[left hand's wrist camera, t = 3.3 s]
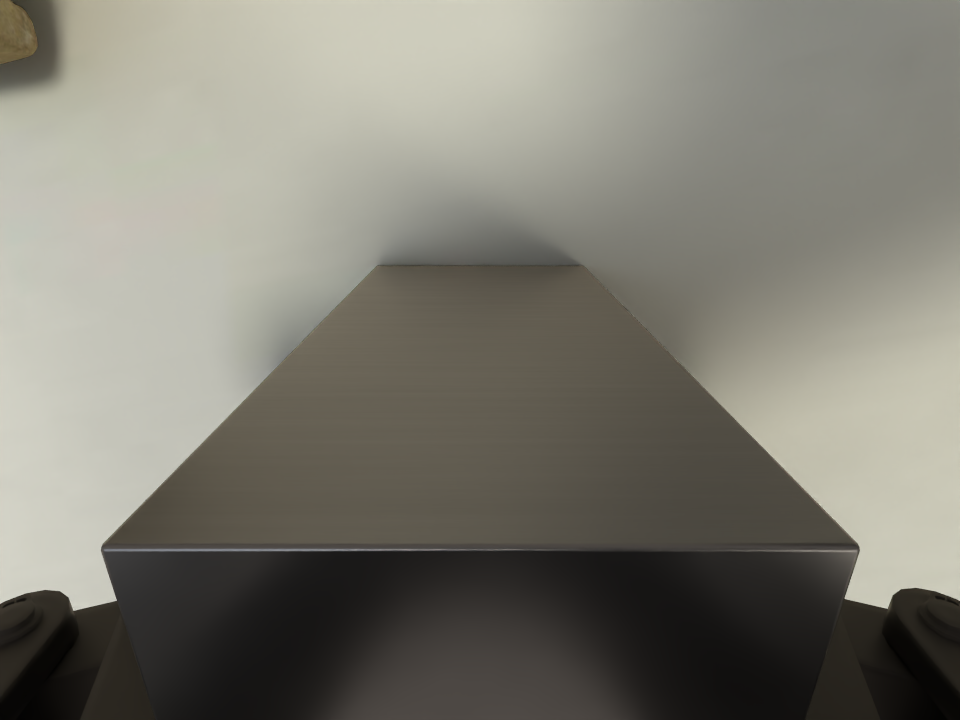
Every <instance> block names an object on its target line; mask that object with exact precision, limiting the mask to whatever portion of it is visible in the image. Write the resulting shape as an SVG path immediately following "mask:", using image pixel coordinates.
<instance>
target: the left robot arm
mask: <svg viewBox="0 0 960 720" xmlns="http://www.w3.org/2000/svg"><path fill="white" fill-rule="evenodd" d="M0 720H156V719H155V716H154V713H153V710H152V707H151V704H150V701H149V698H148V695H147V692H146V688H145V685H144V682H143V679H142V676H141V673H140V670H139V667H138V664H137V661H136V657H135V654H134V651H133V648H132V645H131V642H130V639H129V636H128V633H127V630H126V626H125V623H124V620H123V617H122V614H121V611H120V608H119V605H118V602H117V601H115V602H110V603H106V604H102V605H97V606H93V607H89V608H85V609H80V610H76V611H73V609H72V606H71V603H70V601H69V598H68V597H67V596H66V595H64V594H63V593H61V592H60V591H50V590H43V591H37V592H32V593H26V594H24V595H21V596H18V597H16V598H13V599H10V600H8V601H5V602H3V603H1V604H0ZM805 720H960V601H958V600H957V599H954V598H951V597H949V596H946V595H944V594H941V593H938V592H935V591H930V590H924V589H919V588H911V589H901V590H900V591H898V592H897V593H896V594H894V595H893V596H892V599H891V602H890V605H889V607H888V609H885V608H881V607H876V606H872V605H868V604H863V603H859V602H855V601H850V600H846V599H844V601H843V604H842V607H841V610H840V613H839V616H838V619H837V622H836V626H835V629H834V632H833V635H832V638H831V641H830V644H829V647H828V650H827V653H826V656H825V660H824V663H823V666H822V669H821V672H820V675H819V678H818V681H817V684H816V687H815V690H814V694H813V697H812V700H811V703H810V706H809V709H808V712H807V715H806V718H805Z"/></svg>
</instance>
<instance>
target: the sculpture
mask: <svg viewBox="0 0 960 720" xmlns="http://www.w3.org/2000/svg"><path fill="white" fill-rule="evenodd" d="M37 47H38V42H37V36H36V33H35V29H34V26H33V23H32V21H31V19H30V17H29V15H28V14H27V12H26V11H25V10H24V9H23V8H22V7H20V6H18V5H16V4H14V3H12V1H11V0H0V64H4V63H8V62H11V61H15V60H18V59H22V58H25V57H29V56H31V55H32V54H33V53H34V52H35V51H36V49H37Z"/></svg>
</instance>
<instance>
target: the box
mask: <svg viewBox="0 0 960 720" xmlns="http://www.w3.org/2000/svg"><path fill="white" fill-rule="evenodd" d="M859 551H860V549H859V546H858V544H857V543H856V542H855V541H854V540H853V539H852V538H851V537H850V536H849V535H848V534H847V533H846V532H845V531H844V530H843V529H842V527H841V526H840V525H839V524H838V523H837V522H836V521H835V520H834V519H833V518H832V517H831V516H830V515H829V514H828V513H827V512H826V511H825V510H824V509H823V508H822V507H821V506H820V505H819V504H818V503H817V502H816V501H815V500H814V499H813V498H812V497H811V496H810V495H809V494H808V493H807V492H806V491H805V490H804V489H803V488H802V487H801V486H800V485H799V484H798V483H797V482H796V481H795V480H794V479H793V478H792V477H791V476H790V475H789V474H788V473H787V472H786V471H785V470H784V469H783V468H782V467H781V466H780V465H779V464H778V463H777V462H776V461H775V460H774V459H773V458H772V457H771V456H770V455H769V454H768V452H767V451H766V450H765V449H764V448H763V447H762V446H761V445H760V444H759V443H758V442H757V441H756V440H755V439H754V438H753V437H752V436H751V435H750V434H749V433H748V432H747V431H746V430H745V429H744V428H743V427H742V426H741V425H740V424H739V423H738V422H737V421H736V420H735V419H734V418H733V417H732V416H731V415H730V414H729V413H728V412H727V411H726V410H725V409H724V408H723V407H722V406H721V405H720V404H719V403H718V402H717V401H716V400H715V399H714V398H713V397H712V396H711V395H710V394H709V393H708V392H707V391H706V390H705V389H704V388H703V387H702V386H701V385H700V384H699V383H698V382H697V381H696V380H695V379H694V377H693V376H692V375H691V374H690V373H689V372H688V371H687V370H686V369H685V368H684V367H683V366H682V365H681V364H680V363H679V362H678V361H677V360H676V359H675V358H674V357H673V356H672V355H671V354H670V353H669V352H668V351H667V350H666V349H665V348H664V347H663V346H662V345H661V344H660V343H659V342H658V341H657V340H656V339H655V338H654V337H653V336H652V335H651V334H650V333H649V332H648V331H647V330H646V329H645V328H644V327H643V326H642V325H641V324H640V323H639V322H638V321H637V320H636V319H635V318H634V317H633V316H632V315H631V314H630V313H629V312H628V311H627V310H626V309H625V308H624V307H623V306H622V305H621V304H620V302H619V301H618V300H617V299H616V298H615V297H614V296H613V295H612V294H611V293H610V292H609V291H608V290H607V289H606V288H605V287H604V286H603V285H602V284H601V283H600V282H599V281H598V280H597V279H596V278H595V277H594V276H593V275H592V274H591V273H590V272H589V271H588V270H587V269H586V268H585V267H584V266H376V267H375V268H374V269H373V270H372V271H371V272H370V273H369V274H368V275H367V276H366V277H365V278H364V279H363V280H362V281H361V283H360V284H359V285H358V286H357V287H356V288H355V289H354V290H353V291H352V292H351V293H350V294H349V295H348V296H347V297H346V298H345V299H344V300H343V301H342V302H341V303H340V304H339V305H338V306H337V307H336V308H335V309H334V310H333V311H332V312H331V313H330V314H329V315H328V316H327V317H326V318H325V319H324V320H323V321H322V322H321V323H320V324H319V325H318V326H317V327H316V328H315V329H314V330H313V331H312V332H311V333H310V334H309V335H308V336H307V337H306V338H305V339H304V340H303V341H302V342H301V343H300V344H299V345H298V346H297V347H296V348H295V349H294V351H293V352H292V353H291V354H290V355H289V356H288V357H287V358H286V359H285V360H284V361H283V362H282V363H281V364H280V365H279V366H278V367H277V368H276V369H275V370H274V371H273V372H272V373H271V374H270V375H269V376H268V377H267V378H266V379H265V380H264V381H263V382H262V383H261V384H260V385H259V386H258V387H257V388H256V389H255V390H254V391H253V392H252V393H251V394H250V395H249V396H248V397H247V398H246V399H245V400H244V401H243V402H242V403H241V404H240V405H239V406H238V407H237V408H236V409H235V410H234V411H233V412H232V413H231V414H230V415H229V416H228V418H227V419H226V420H225V421H224V422H223V423H222V424H221V425H220V426H219V427H218V428H217V429H216V430H215V431H214V432H213V433H212V434H211V435H210V436H209V437H208V438H207V439H206V440H205V441H204V442H203V443H202V444H201V445H200V446H199V447H198V448H197V449H196V450H195V451H194V452H193V453H192V454H191V455H190V456H189V457H188V458H187V459H186V460H185V461H184V462H183V463H182V464H181V465H180V466H179V467H178V468H177V469H176V470H175V471H174V472H173V473H172V474H171V475H170V476H169V477H168V478H167V479H166V480H165V481H164V482H163V483H162V484H161V486H160V487H159V488H158V489H157V490H156V491H155V492H154V493H153V494H152V495H151V496H150V497H149V498H148V499H147V500H146V501H145V502H144V503H143V504H142V505H141V506H140V507H139V508H138V509H137V510H136V511H135V512H134V513H133V514H132V515H131V516H130V517H129V518H128V519H127V520H126V521H125V522H124V523H123V524H122V525H121V526H120V527H119V528H118V529H117V530H116V531H115V532H114V533H113V534H112V535H111V536H110V537H109V538H108V539H107V540H106V541H105V542H104V543H103V545H102V547H101V552H102V555H103V558H104V561H105V565H106V568H107V571H108V574H109V577H110V580H111V583H112V586H113V589H114V592H115V596H116V599H117V602H118V605H119V608H120V611H121V614H122V617H123V620H124V623H125V626H126V630H127V633H128V636H129V639H130V642H131V645H132V648H133V651H134V654H135V657H136V661H137V664H138V667H139V670H140V673H141V676H142V679H143V682H144V685H145V688H146V692H147V695H148V698H149V701H150V704H151V707H152V710H153V713H154V716H155V719H156V720H805V718H806V715H807V712H808V709H809V706H810V703H811V700H812V697H813V694H814V690H815V687H816V684H817V681H818V678H819V675H820V672H821V669H822V666H823V663H824V660H825V656H826V653H827V650H828V647H829V644H830V641H831V638H832V635H833V632H834V629H835V626H836V622H837V619H838V616H839V613H840V610H841V607H842V604H843V601H844V598H845V595H846V592H847V588H848V585H849V582H850V579H851V576H852V573H853V570H854V567H855V564H856V561H857V558H858V554H859Z"/></svg>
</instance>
